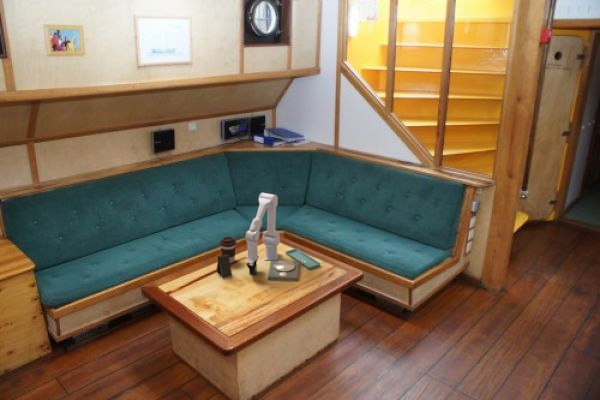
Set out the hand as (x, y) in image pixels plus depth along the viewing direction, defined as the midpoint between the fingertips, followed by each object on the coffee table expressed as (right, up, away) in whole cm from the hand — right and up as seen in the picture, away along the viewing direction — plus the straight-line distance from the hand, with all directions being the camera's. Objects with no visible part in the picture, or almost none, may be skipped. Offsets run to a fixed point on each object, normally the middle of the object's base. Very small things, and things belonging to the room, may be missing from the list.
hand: (252, 270), depth 288 cm
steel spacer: (0, -2, +1) cm, 2 cm away
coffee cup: (-16, +4, +15) cm, 23 cm away
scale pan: (+18, +2, +4) cm, 19 cm away
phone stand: (-17, -2, 0) cm, 17 cm away
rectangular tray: (+29, +4, +18) cm, 34 cm away
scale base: (+18, -1, +3) cm, 18 cm away
